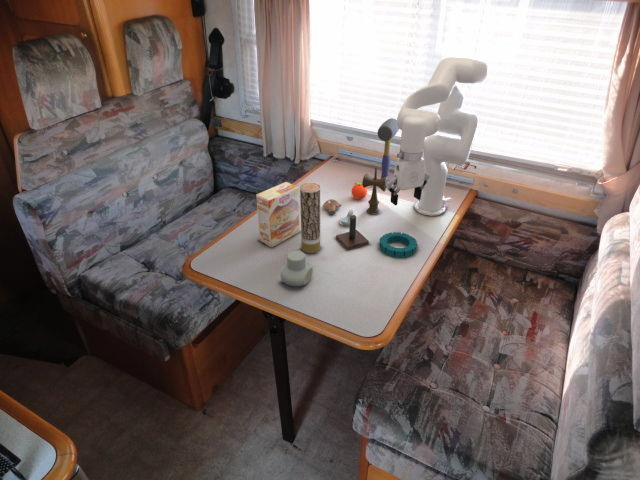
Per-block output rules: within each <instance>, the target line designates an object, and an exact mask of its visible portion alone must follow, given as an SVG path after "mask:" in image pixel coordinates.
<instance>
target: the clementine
mask: <svg viewBox="0 0 640 480" xmlns="http://www.w3.org/2000/svg"><path fill="white" fill-rule="evenodd" d="M350 192H351V196H352V197H353V198H354V199H356V200H363V199H365V197H367V194H368V187H365V188H364V187H363V185H362V183H360V182H355V183H354V185H352V188H351V191H350Z"/></svg>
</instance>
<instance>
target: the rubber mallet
mask: <svg viewBox="0 0 640 480" xmlns="http://www.w3.org/2000/svg"><path fill="white" fill-rule="evenodd" d="M399 130H400V129H399V128H398V126H397V118H394V117H393V118H388V119H387V120H385V121H384V122H383V123H381V124H380V126H379V127H378V129H377V132H376V133H377V137H378V139H379V140H381V141H383V142H384V148H383V155H382V158H381V159H382V160H381V177H380V179H381V178H384V177H386V176H387V177H388V181H389V180H390V177H389V175H390V168H391V155H390V153H391V140H392V139H393V138H394V137H395V136H396V135H397V133H398V132H399Z"/></svg>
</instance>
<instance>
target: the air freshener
mask: <svg viewBox="0 0 640 480" xmlns="http://www.w3.org/2000/svg"><path fill="white" fill-rule="evenodd" d="M313 272H314V269H313V266H312V265H311V264H310V263H309V262H307V260H306V253H305V252H304V251H301V250H292V251H290V252H288V253H287V255H286V263H285V264H284V265H283V267H282V269H281V272H280V276H279V277H280V279H281V281H282V282H283V283H284V284H286V285H288V286H291V287H301V286H306V285H307V284H308V283H309V282H310V280H311V278H312V275H313Z"/></svg>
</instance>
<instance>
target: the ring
mask: <svg viewBox="0 0 640 480" xmlns="http://www.w3.org/2000/svg"><path fill="white" fill-rule="evenodd" d="M390 243H402V244H405V245H406V246H404V247H397V246H396V247H395V246H392V245H391V244H390ZM417 248H418V242H417V240H416V238H415V237H413V236H412V235H410V234H408V233H405V232H401V231H393V232H387V233H384V234H383V235H382V236H381V237H380V238H379V249H380V251H381V252H382V253H383V254H385V255H386V256H389V257H391V258H397V259H404V258H406V259H407V258H408V257H412V256H413V255H414V254H415V253H416V252H417Z"/></svg>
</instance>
